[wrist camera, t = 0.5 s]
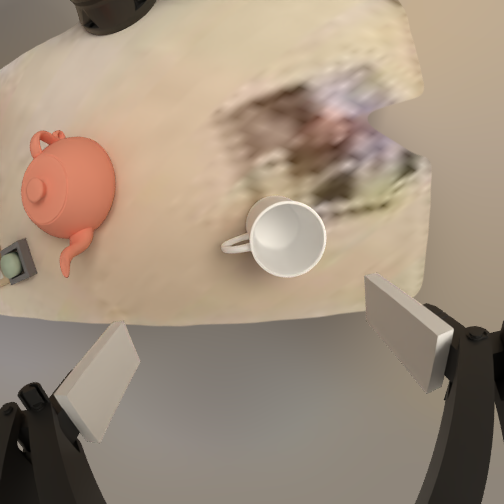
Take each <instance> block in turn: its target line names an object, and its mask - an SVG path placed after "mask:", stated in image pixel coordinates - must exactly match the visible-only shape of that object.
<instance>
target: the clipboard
mask: <svg viewBox="0 0 504 504" xmlns="http://www.w3.org/2000/svg"><path fill="white" fill-rule="evenodd" d="M0 251H1V247H0ZM1 258H2V257H1V253H0V261H1ZM8 283H10V280H9V279H8V278H6V277H5V276H4V274H3V272H2V270H1V266H0V287H2V286H4V285H6V284H8Z"/></svg>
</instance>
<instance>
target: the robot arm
mask: <svg viewBox="0 0 504 504" xmlns="http://www.w3.org/2000/svg"><path fill="white" fill-rule="evenodd" d="M70 1H72V2H73V3H74V4H75V6H76V9H77V12H78V16H79V20H80V23H81V24H82V26H83V27H84V28H85V29H86V30H87V31H88V32H90V33H92V34H95V35H106V34H111V33H115V32H117V31H120V30H122V29H124V28H126V27H128V26H130V25H132V24H133V23H135V22H136V21H138V20H139V19H140V18H142V17H143V16H144V15H145V14H146V13H147V12H148V11H149V10H150V9H151V8H152V6H153V5H154V3H155V2H156V0H70ZM364 280H365V300H366V322H367V323H368V324H369V325H370V326H371V327H372V329H373V330H374V331H375V332H376V333H377V334H378V336H379V337H380V338H381V339H382V340H383V342H384V343H385V344H386V345H387V346H388V347H389V349H390V350H391V351H392V352H393V353H394V354H395V356H396V357H397V358H398V360H399V361H400V362H401V363H402V364H403V366H404V367H405V368H406V369H407V370H408V372H409V373H410V374H411V375H412V376H413V378H414V379H415V380H416V381H417V383H418V384H419V385H420V387H421V388H422V389H423V390H424V392H425V393H426V394H427V393H430V392H432V391H434V390H436V389H438V388H440V387H442V383H443V379H444V375H445V376H446V377H447V378H448V379H449V380H450V381H449V385H448V388H447V392H446V395H445V398H444V400H446V401H445V406H444V412H443V416H442V421H441V425H440V430H439V434H438V438H437V441H436V445H435V449H434V452H433V455H432V459H431V462H430V465H429V468H428V471H427V474H426V477H425V480H424V482H423V485H422V488H421V490H420V493H419V495H418V498H417V500H416V503H415V504H481V502H482V498H483V494H484V489H485V485H486V480H487V475H488V469H489V463H490V456H491V448H492V438H493V427H494V401H495V404H496V408H497V412H498V416H499V421H500V425H501V430H502V435H503V440H504V321H503V324H502V328H501V331H497V332H493V333H489V332H488V331H487V330H486V329H484V328H481V327H477V326H473V327H467V328H465V327H464V326H463V325H461V324H460V323H458V322H457V321H456V320H454V319H453V318H452V317H450V316H448V315H447V314H446V313H444V312H443V311H442V310H440V309H439V308H437V307H436V306H433V305H430V304H427V303H426V304H424V305H422V304H420V303H419V302H418V301H416V300H415V299H414V298H412V297H411V296H409V295H408V294H407V293H405V292H404V291H403V290H401V289H400V288H398V287H397V286H395V285H394V284H393V283H391V282H390V281H388V280H387V279H386V278H384V277H383V276H381V275H380V274H378V273H373V274H369V275H365V276H364ZM140 362H141V361H140V359H139V357H138V355H137V352H136V350H135V347H134V345H133V343H132V340H131V338H130V335H129V333H128V330H127V328H126V325H125V322H124V321H117V322H112V324H111V325H110V326H109V327H108V328H107V329H106V331H105V332H104V333H103V334H102V335H101V336H100V338H99V339H98V340H97V341H96V342H95V343H94V345H93V346H92V347H91V348H90V350H89V351H88V352H87V353H86V354H85V356H84V357H83V358H82V359H81V361H80V362H79V363H78V364H77V365H76V367H75V368H74V369H73V370H71V371H70V372H69V373H68V375H67V376H66V377H65V379H64V380H63V381H62V382H61V384H60V385H59V386H58V387H57V389H56V390H55V391H54V392H53V394H52V395H51V396H50V398H48V396H47V395H46V393H45V391H44V390H43V388H42V387H41V385H40V384H39V383H37V382H36V383H35V382H33V383H30V384H27V385H26V386H24V387H23V388H22V389H21V390H20V391H19V393H18V397H19V398H20V400H21V401H22V403H23V405H24V406H25V407H26V409H27V410H24V411H21V409H20V408H19V406H18V405H17V403H15V402H10V403H6V404H5V405H3V407H2V408H1V409H0V504H106V502H105V500H104V498H103V496H102V494H101V492H100V489H99V487H98V485H97V483H96V480H95V478H94V476H93V473H92V471H91V469H90V466H89V464H88V461H87V459H86V456H85V453H84V450H83V448H82V445H81V443H80V441H79V440H78V439H77V436H78V434H79V433H81V435H82V436H83V437H84V439H85V440H86V441H87V442H93V443H100V442H101V440H102V438H103V436H104V434H105V432H106V429H107V427H108V425H109V423H110V421H111V419H112V417H113V415H114V413H115V411H116V409H117V407H118V405H119V403H120V401H121V399H122V397H123V395H124V393H125V391H126V389H127V387H128V385H129V383H130V381H131V379H132V377H133V375H134V373H135V371H136V369H137V368H138V366H139V364H140ZM17 441H18V442H19V443H20V445H21V446H22V447H23V452H22V451H21V450H20V449H19V448H18V445H17Z"/></svg>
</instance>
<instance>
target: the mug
mask: <svg viewBox="0 0 504 504" xmlns="http://www.w3.org/2000/svg"><path fill="white" fill-rule="evenodd" d="M246 231H247V233H245V234H242V235H239V236H237V237H234V238H231V239H229V240H227V241H225V242H224V243H223V244H222V245H221V250H222V251H223V252H224V253H230V254H231V253H242V252H248V251H251V252H252V254H253V257H254V258H255V260H256V262H257V263H258V264H259V265H260V266H261V267H262V268H263V269H264V270H265V271H267V272H268V273H270V274H272V275H275V276H279V277H295V276H299V275H302V274H304V273H306V272H308V271H309V270H311V269H312V268H313V267H314V266H315V265H316V264H317V263H318V262H319V260H320V259H321V257H322V255H323V253H324V250H325V246H326V231H325V227H324V224H323V222H322V220H321V218H320V217H319V215H318V214H317V213H316V212H315V211H314V210H313V209H312V208H310V207H309V206H307V205H305V204H303V203H300V202H297V201H293V200H291V199H289V198H287V197H284V196H279V195H273V196H268V197H265V198H262V199H261V200H259V201H258V202H256V203H255V204H254V205H253V206H252V208H251V209H250V211H249V213H248V216H247V219H246ZM244 240H249V241H250V242H249V243H247V244H243V245H238V246H231V245H233V244H235V243H238V242H241V241H244Z"/></svg>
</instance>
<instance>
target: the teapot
mask: <svg viewBox="0 0 504 504" xmlns="http://www.w3.org/2000/svg"><path fill="white" fill-rule="evenodd" d="M40 140H42V141H44V142H46V143H47V144H49V146H48V147H46V148H45V149H44V150H43V151H42V150H41V146H40ZM30 151H31V154H32V157H33V158H34V160H33V161H32V162H31V163H30V165H29V166H28V168H27V170H26V172H25V174H24V177H23V181H22V189H21V194H22V202H23V206H24V209H25V211H26V213H27V215H28V216H29V218H30V219H31V220H32V221H33V222H34V223H35V224H36V225H37V226H38V227H39V228H40V229H42V230H43V231H45V232H46V233H48V234H50V235H52V236H55V237H58V238H66V239H70V246H68V247H66V248H65V249H64V250H63V251H62V253H61V255H60V267H61V271H62V273H63V275H64V277H66V278H68V276H69V272H70V262H71V260H72V258H73V257H75V256H77V255H78V254H80V253H82V252H83V251H85V250H86V249H87V248H88V247H89V245H90V244H91V242H92V238H93V231H94V230H95V229H97V228H98V227H99V226H100V225H101V223H102V222H103V221H104V219H105V218H106V216H107V214H108V213H109V211H110V208H111V206H112V202H113V199H114V193H115V175H114V170H113V166H112V163H111V160H110V158H109V156H108V155H107V153H106V151H105V150H104V149H103V148H102V147H101V146H100V145H99V144H98V143H97V142H95V141H93V140H91V139H88V138H84V137H69V138H65V135H64V133H63V132H62V131H60V130H58V131H55V132H53V134H51V133H49V132H47V131H39V132H37V133H36V134H35V135H34V136H33V137H32V139H31V142H30Z"/></svg>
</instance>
